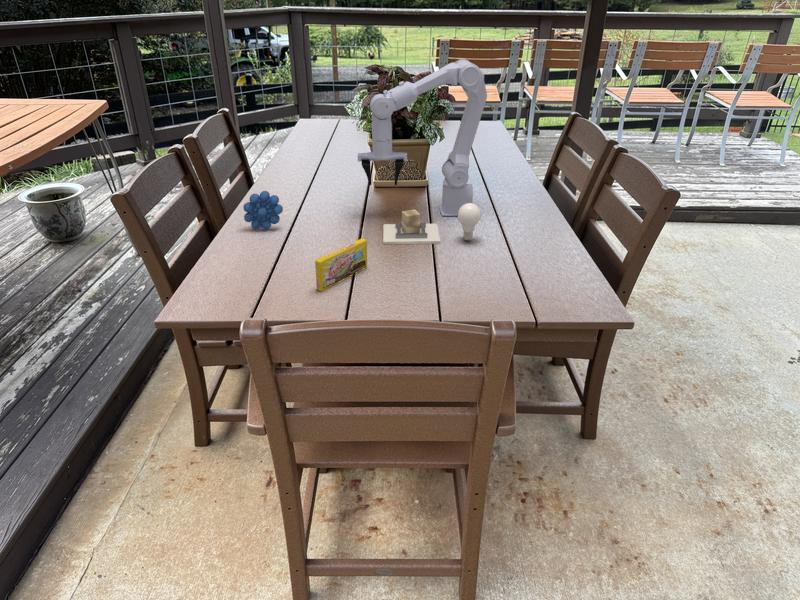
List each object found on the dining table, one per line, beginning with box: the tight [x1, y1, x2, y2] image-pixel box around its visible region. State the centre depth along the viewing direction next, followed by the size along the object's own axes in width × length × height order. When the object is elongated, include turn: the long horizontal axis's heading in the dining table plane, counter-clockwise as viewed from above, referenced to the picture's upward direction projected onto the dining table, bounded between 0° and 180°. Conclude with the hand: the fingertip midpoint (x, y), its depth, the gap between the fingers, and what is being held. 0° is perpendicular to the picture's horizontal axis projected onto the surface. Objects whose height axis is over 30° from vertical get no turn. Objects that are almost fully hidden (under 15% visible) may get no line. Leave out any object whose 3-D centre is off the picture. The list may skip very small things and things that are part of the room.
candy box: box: [314, 237, 368, 292], centre depth 135 cm, size 16×2×8 cm, turn 139°
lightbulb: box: [457, 202, 482, 242], centre depth 152 cm, size 6×6×11 cm
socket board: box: [382, 222, 441, 245], centre depth 158 cm, size 16×12×2 cm
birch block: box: [401, 209, 421, 233], centre depth 157 cm, size 4×4×6 cm
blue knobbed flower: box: [243, 190, 284, 231], centre depth 160 cm, size 12×7×12 cm, turn 91°
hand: (383, 184), depth 165 cm, fingers open, 7 cm apart
